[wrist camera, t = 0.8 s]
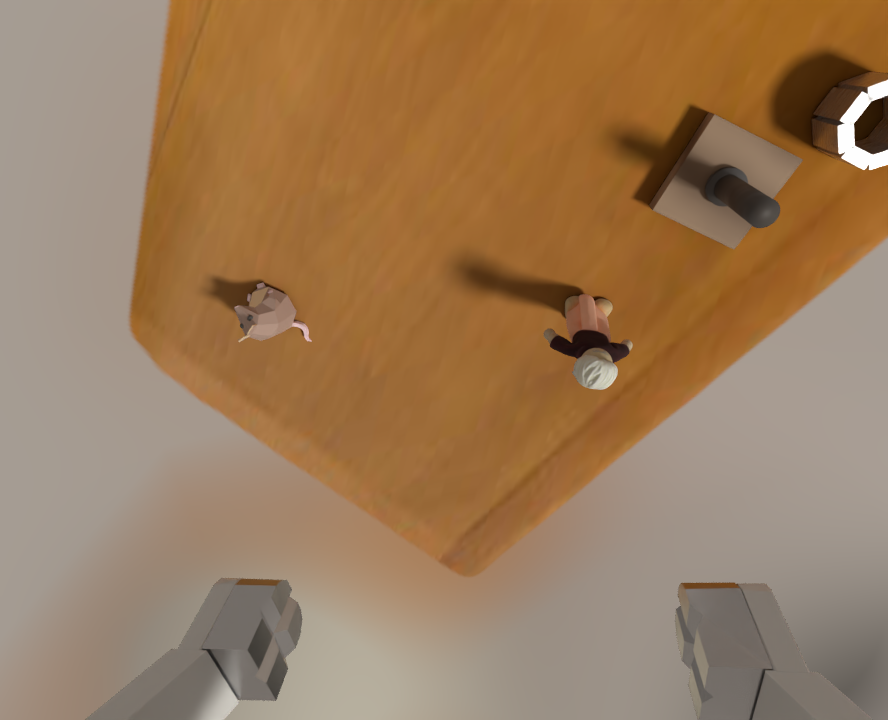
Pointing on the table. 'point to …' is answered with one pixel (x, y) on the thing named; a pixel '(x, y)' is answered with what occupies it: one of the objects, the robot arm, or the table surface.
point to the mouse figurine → (267, 314)
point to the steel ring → (841, 114)
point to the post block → (725, 182)
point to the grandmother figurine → (590, 341)
